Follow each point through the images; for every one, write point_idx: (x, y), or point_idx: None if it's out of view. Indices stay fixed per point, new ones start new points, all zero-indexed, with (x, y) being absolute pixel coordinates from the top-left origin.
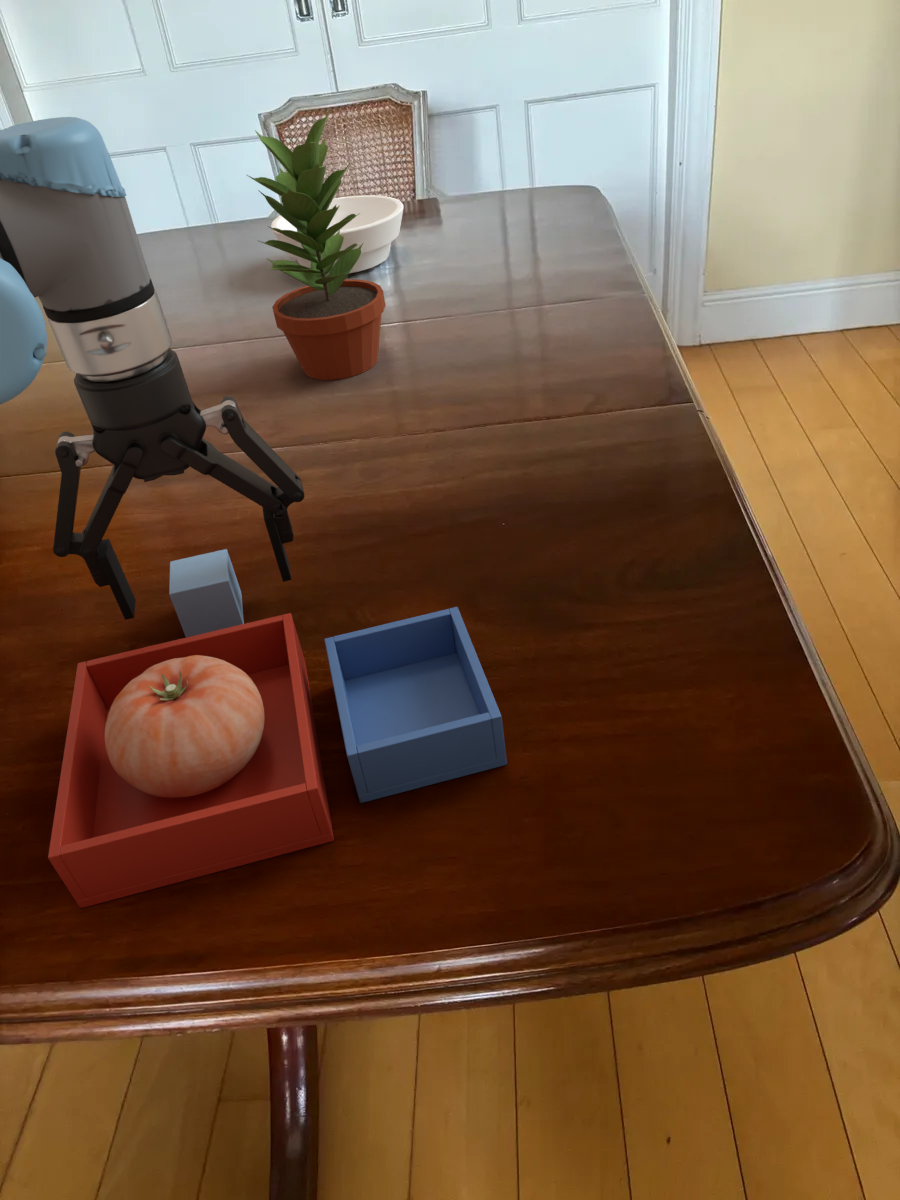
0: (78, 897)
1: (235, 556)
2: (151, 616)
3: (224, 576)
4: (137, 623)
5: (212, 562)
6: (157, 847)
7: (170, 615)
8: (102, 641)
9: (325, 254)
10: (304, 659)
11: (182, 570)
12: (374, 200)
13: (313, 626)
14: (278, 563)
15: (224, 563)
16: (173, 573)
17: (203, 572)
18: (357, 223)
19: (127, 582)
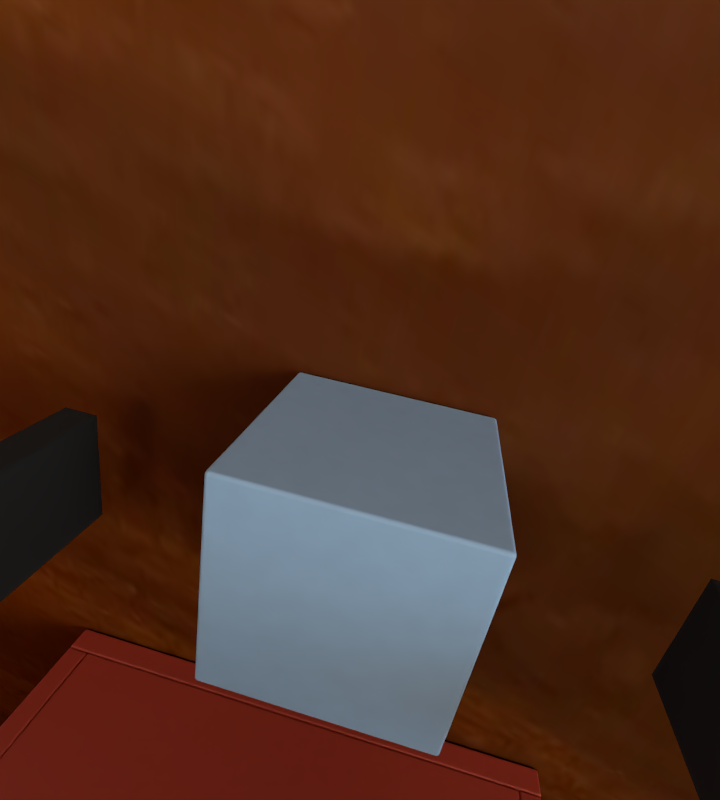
0: None
1: (577, 111)
2: (182, 352)
3: (429, 729)
4: (139, 362)
5: (408, 614)
6: None
7: (242, 385)
8: (45, 386)
9: None
10: (539, 788)
11: (259, 578)
12: None
13: (628, 687)
14: (695, 774)
15: (460, 654)
16: (217, 572)
17: (349, 655)
18: None
19: (21, 466)
